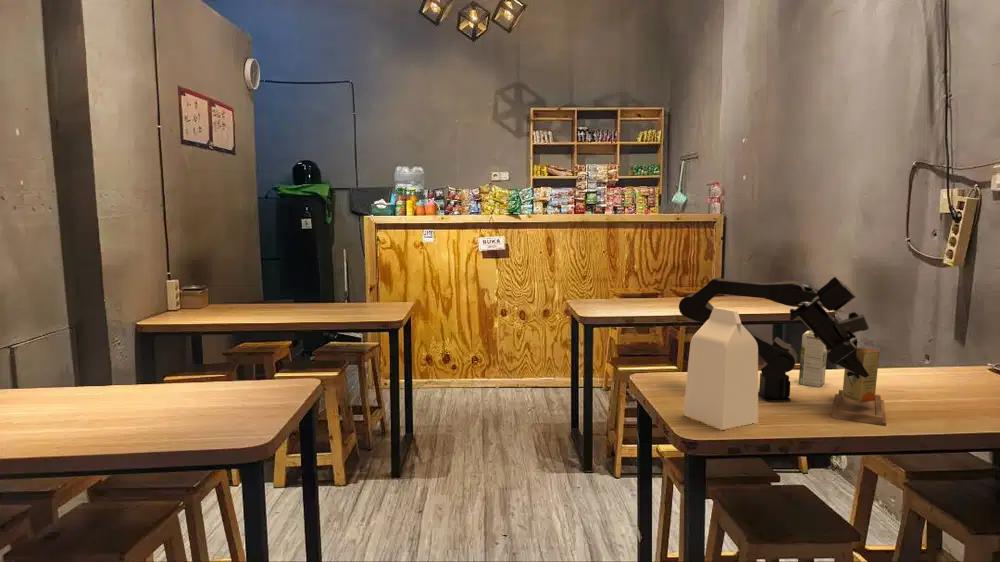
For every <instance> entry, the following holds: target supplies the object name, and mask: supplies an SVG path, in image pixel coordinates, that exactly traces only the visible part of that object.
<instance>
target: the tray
mask: <svg viewBox="0 0 1000 562" xmlns="http://www.w3.org/2000/svg"><path fill="white" fill-rule="evenodd" d="M842 393H843V389H838V393H834V400H833V407H832V414H831V418H832V419H838V420H844V421H851V422H856V423H864V424H870V425H871V424H872V425H879V426H887V421H886V420H887V419H886V410H885V400H884V399H882V398H881V394H876V393H875V401H867V402H857V401H854V400H851V399H848V398H845V397H842Z"/></svg>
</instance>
